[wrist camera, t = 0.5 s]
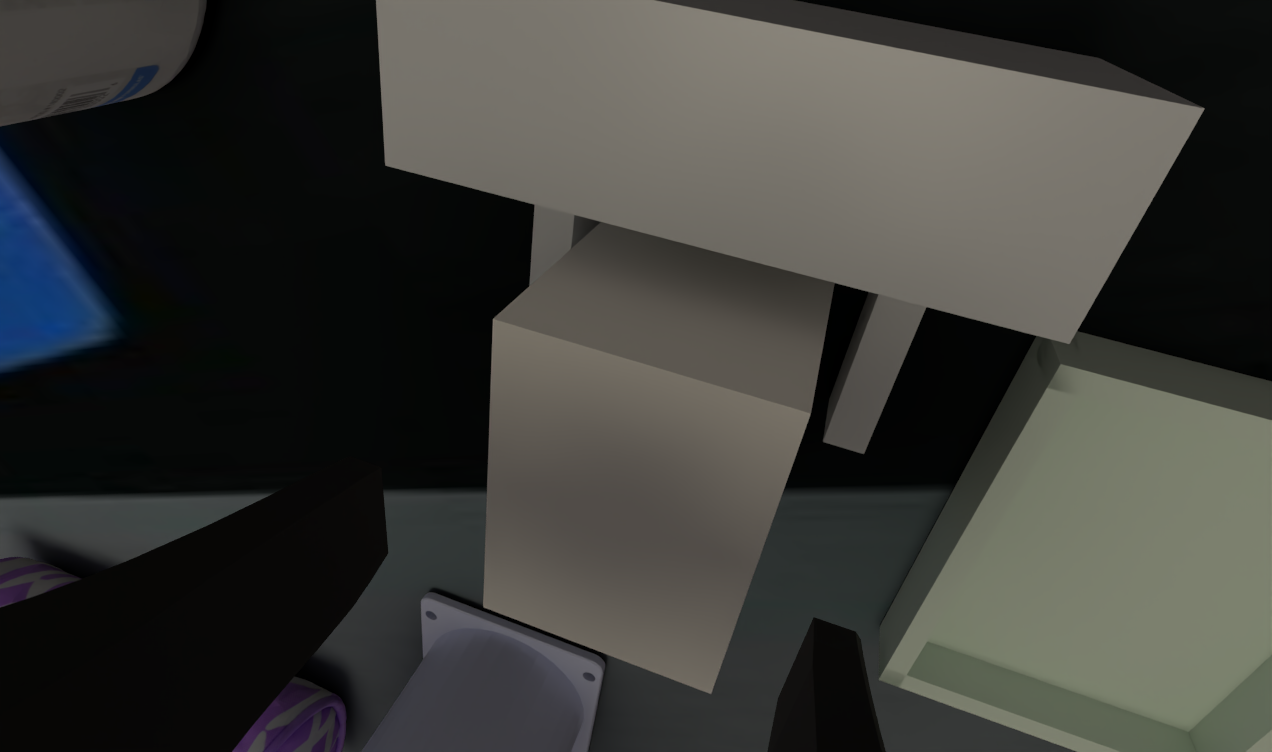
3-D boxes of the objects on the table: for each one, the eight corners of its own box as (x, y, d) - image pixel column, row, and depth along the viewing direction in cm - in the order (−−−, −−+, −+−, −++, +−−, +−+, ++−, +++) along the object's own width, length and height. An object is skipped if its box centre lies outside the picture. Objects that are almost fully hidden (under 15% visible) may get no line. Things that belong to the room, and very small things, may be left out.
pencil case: (63, 623, 43) (-120, 770, 35) (5, 515, 38) (-223, 657, 30) (375, 753, 38) (244, 953, 31) (357, 649, 33) (195, 857, 26)
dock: (923, 426, 18) (933, 580, 14) (507, 305, 20) (398, 403, 16) (1099, 57, 13) (1205, 108, 9) (524, -51, 15) (372, -55, 11)
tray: (1193, 735, 20) (1219, 802, 19) (879, 626, 22) (878, 679, 20) (1511, 443, 14) (1590, 505, 13) (1043, 322, 16) (1060, 363, 14)
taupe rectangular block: (764, 472, 21) (705, 710, 14) (607, 422, 21) (482, 624, 15) (843, 232, 16) (810, 413, 10) (644, 182, 17) (493, 319, 11)
